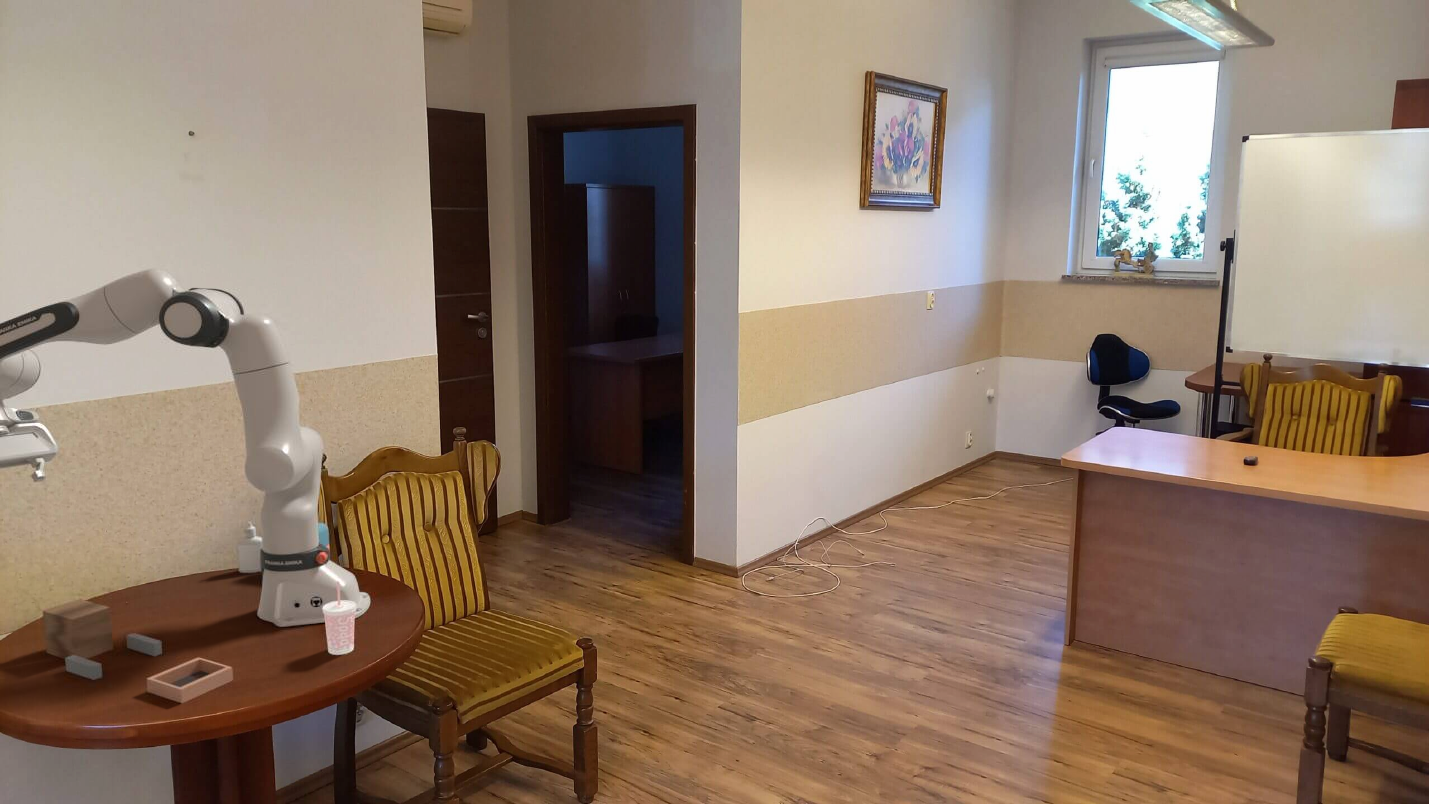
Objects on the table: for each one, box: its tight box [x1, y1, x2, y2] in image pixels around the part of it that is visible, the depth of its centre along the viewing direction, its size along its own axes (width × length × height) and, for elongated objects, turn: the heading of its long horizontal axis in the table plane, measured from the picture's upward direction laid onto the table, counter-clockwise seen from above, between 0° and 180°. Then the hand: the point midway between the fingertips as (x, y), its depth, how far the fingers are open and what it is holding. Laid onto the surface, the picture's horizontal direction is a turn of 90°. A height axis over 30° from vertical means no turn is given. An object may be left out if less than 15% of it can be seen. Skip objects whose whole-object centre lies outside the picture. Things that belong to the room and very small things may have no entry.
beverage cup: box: [322, 581, 356, 656], centre depth 187 cm, size 6×6×14 cm
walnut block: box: [42, 598, 114, 660], centre depth 185 cm, size 9×7×8 cm
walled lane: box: [64, 632, 163, 681], centre depth 181 cm, size 8×13×2 cm, turn 155°
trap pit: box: [146, 657, 234, 704], centre depth 172 cm, size 9×10×2 cm
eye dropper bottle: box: [237, 521, 262, 574], centre depth 230 cm, size 4×6×12 cm
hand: (15, 484), depth 189 cm, fingers open, 8 cm apart
